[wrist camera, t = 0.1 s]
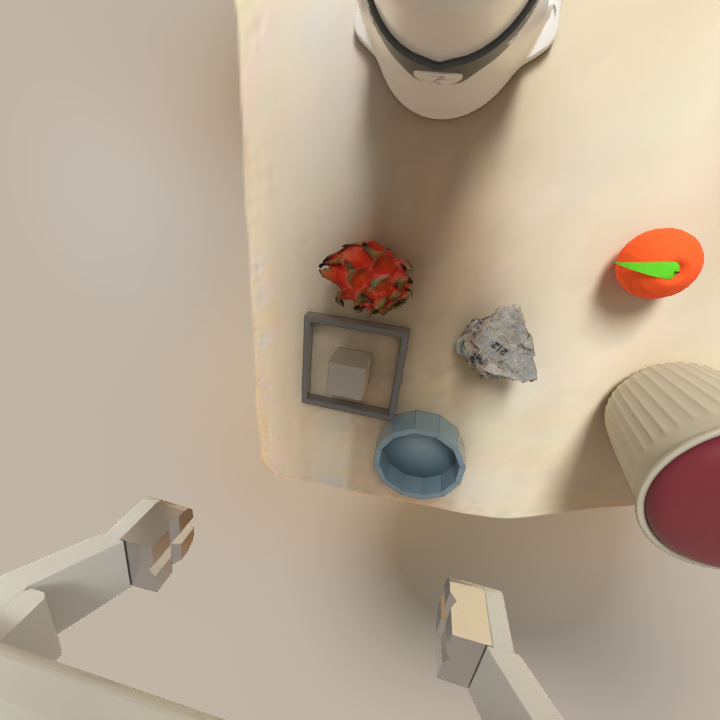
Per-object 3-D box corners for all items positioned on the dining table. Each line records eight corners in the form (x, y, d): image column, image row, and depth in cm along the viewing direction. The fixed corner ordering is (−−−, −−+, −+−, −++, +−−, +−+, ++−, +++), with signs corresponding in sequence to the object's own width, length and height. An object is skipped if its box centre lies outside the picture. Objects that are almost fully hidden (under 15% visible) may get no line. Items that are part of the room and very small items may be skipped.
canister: (787, 364, 41) (1069, 514, 23) (683, 474, 50) (825, 647, 31) (628, 318, 42) (772, 425, 24) (554, 433, 51) (617, 577, 32)
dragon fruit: (421, 289, 47) (339, 260, 50) (432, 242, 40) (336, 209, 42) (396, 340, 44) (310, 306, 46) (404, 298, 36) (300, 260, 38)
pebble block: (338, 347, 52) (328, 362, 48) (372, 353, 51) (365, 369, 47) (335, 376, 54) (326, 393, 50) (368, 383, 54) (361, 401, 49)
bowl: (385, 403, 54) (380, 421, 51) (471, 421, 53) (474, 440, 49) (374, 467, 60) (370, 487, 57) (452, 484, 59) (453, 506, 55)
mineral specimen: (467, 331, 52) (544, 338, 48) (456, 384, 50) (534, 397, 46) (455, 300, 44) (547, 305, 39) (442, 363, 42) (536, 376, 37)
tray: (308, 311, 50) (304, 315, 49) (410, 329, 48) (409, 333, 47) (305, 396, 57) (301, 402, 56) (394, 415, 55) (393, 421, 54)
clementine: (585, 284, 42) (610, 302, 35) (606, 221, 38) (638, 228, 32) (661, 291, 40) (701, 312, 34) (690, 226, 37) (740, 236, 31)
